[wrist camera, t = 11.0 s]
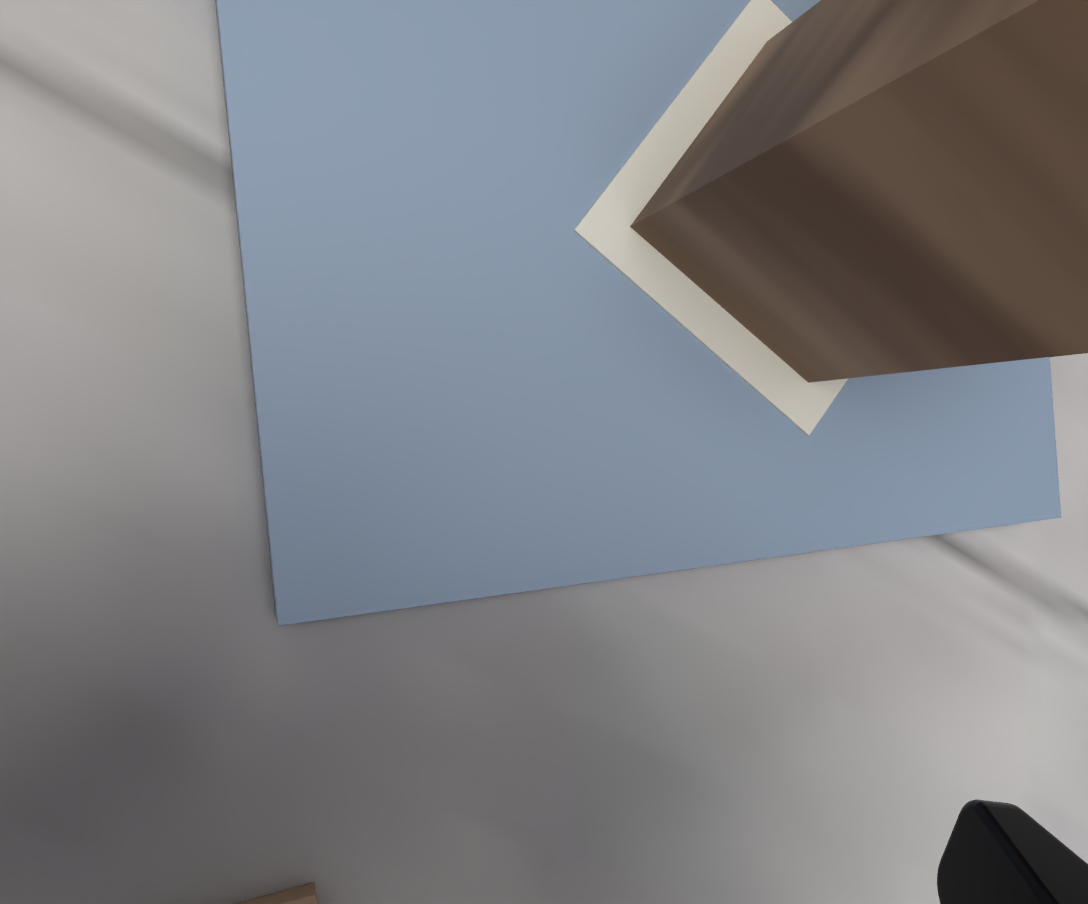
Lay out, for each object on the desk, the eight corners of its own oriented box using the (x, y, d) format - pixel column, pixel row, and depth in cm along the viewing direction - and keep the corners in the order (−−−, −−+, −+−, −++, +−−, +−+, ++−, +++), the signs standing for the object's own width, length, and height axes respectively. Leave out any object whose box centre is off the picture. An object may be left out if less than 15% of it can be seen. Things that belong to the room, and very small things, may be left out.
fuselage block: (808, 382, 20) (1679, 290, 8) (629, 226, 19) (1323, -157, 7) (931, 200, 21) (1898, -137, 9) (767, 40, 20) (1608, -601, 8)
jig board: (1021, 513, 23) (1165, 526, 19) (275, 614, 18) (285, 655, 15) (978, -82, 22) (1117, -181, 19) (202, -130, 18) (193, -272, 14)
